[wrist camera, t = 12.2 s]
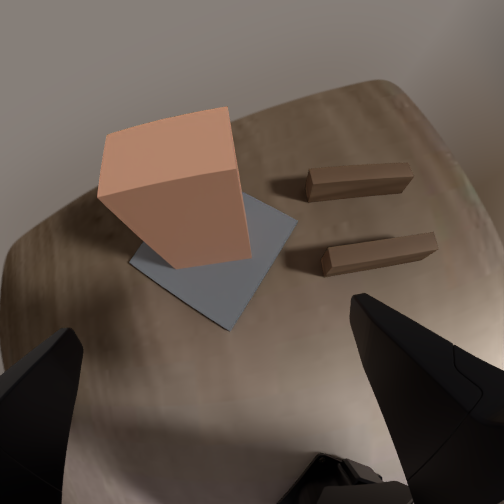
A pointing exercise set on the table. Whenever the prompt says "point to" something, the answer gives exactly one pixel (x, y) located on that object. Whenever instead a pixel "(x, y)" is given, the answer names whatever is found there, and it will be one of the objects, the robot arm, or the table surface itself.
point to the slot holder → (360, 185)
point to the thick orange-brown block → (179, 188)
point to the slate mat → (224, 267)
